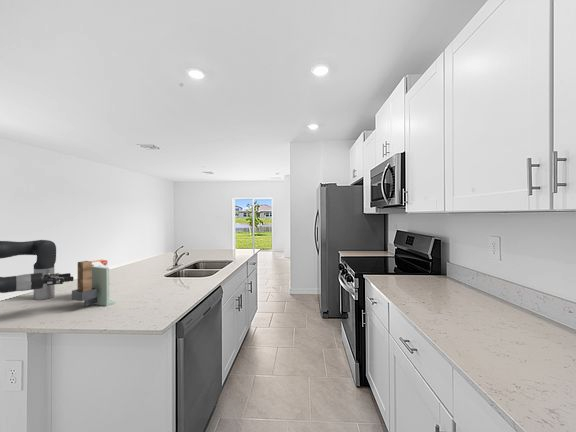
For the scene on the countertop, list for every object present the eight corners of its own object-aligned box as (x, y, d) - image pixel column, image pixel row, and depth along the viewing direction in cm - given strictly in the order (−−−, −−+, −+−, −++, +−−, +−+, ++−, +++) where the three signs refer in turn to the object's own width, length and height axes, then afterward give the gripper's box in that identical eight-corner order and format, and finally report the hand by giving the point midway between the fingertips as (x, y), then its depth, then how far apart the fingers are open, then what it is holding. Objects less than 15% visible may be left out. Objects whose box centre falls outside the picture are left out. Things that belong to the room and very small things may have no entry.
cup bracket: (67, 308, 151) (66, 269, 151) (95, 299, 165) (95, 264, 165) (87, 312, 145) (87, 272, 145) (115, 303, 159) (115, 266, 159)
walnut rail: (77, 296, 151) (77, 262, 150) (86, 294, 155) (86, 260, 154) (83, 298, 149) (82, 262, 148) (91, 295, 153) (91, 261, 152)
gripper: (28, 286, 142) (69, 281, 154) (30, 293, 132) (74, 287, 144) (28, 271, 142) (69, 267, 153) (30, 277, 132) (74, 272, 143)
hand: (71, 276), depth 148 cm, fingers open, 8 cm apart
